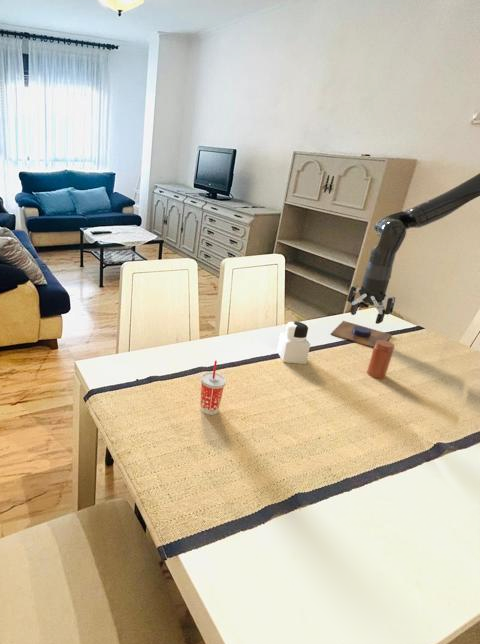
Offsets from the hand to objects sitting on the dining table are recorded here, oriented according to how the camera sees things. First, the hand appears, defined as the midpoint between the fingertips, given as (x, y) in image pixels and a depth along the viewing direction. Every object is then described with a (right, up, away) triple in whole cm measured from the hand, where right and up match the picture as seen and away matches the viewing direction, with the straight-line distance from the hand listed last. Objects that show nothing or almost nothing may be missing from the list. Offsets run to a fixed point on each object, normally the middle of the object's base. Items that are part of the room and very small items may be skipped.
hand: (365, 318), depth 139 cm
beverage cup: (-66, -20, -41) cm, 80 cm away
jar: (-11, -15, -22) cm, 29 cm away
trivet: (0, -6, +3) cm, 7 cm away
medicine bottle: (-33, -12, -15) cm, 38 cm away
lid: (0, -4, +2) cm, 5 cm away
